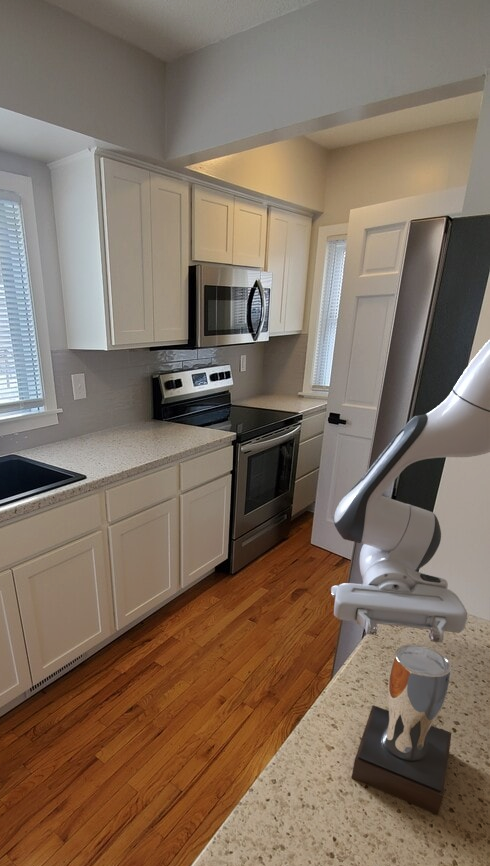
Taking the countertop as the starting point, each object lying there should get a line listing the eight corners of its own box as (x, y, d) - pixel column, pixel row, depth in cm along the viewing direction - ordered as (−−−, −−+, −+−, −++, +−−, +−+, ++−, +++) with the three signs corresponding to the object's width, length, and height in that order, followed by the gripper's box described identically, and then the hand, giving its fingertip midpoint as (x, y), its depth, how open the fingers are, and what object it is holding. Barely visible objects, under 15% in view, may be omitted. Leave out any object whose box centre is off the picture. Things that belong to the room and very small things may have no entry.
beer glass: (431, 734, 71) (453, 651, 65) (430, 771, 65) (453, 684, 59) (380, 718, 74) (396, 637, 68) (375, 752, 68) (391, 668, 62)
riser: (369, 722, 78) (372, 703, 77) (446, 750, 73) (452, 731, 71) (351, 778, 69) (354, 757, 68) (438, 815, 64) (444, 794, 62)
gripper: (332, 569, 89) (336, 610, 77) (456, 580, 84) (481, 625, 72) (328, 598, 92) (332, 642, 80) (448, 610, 87) (472, 660, 74)
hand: (404, 634), depth 76 cm, fingers open, 8 cm apart
